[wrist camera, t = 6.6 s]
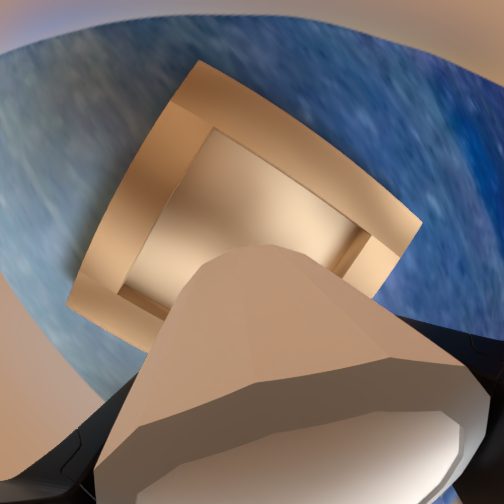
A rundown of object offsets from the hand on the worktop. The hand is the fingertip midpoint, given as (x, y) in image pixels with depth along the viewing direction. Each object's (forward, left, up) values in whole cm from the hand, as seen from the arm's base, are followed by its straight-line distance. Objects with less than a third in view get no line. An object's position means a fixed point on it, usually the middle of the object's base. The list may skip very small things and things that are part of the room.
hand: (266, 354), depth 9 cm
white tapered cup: (0, 0, -2) cm, 2 cm away
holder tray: (0, 0, -10) cm, 10 cm away
